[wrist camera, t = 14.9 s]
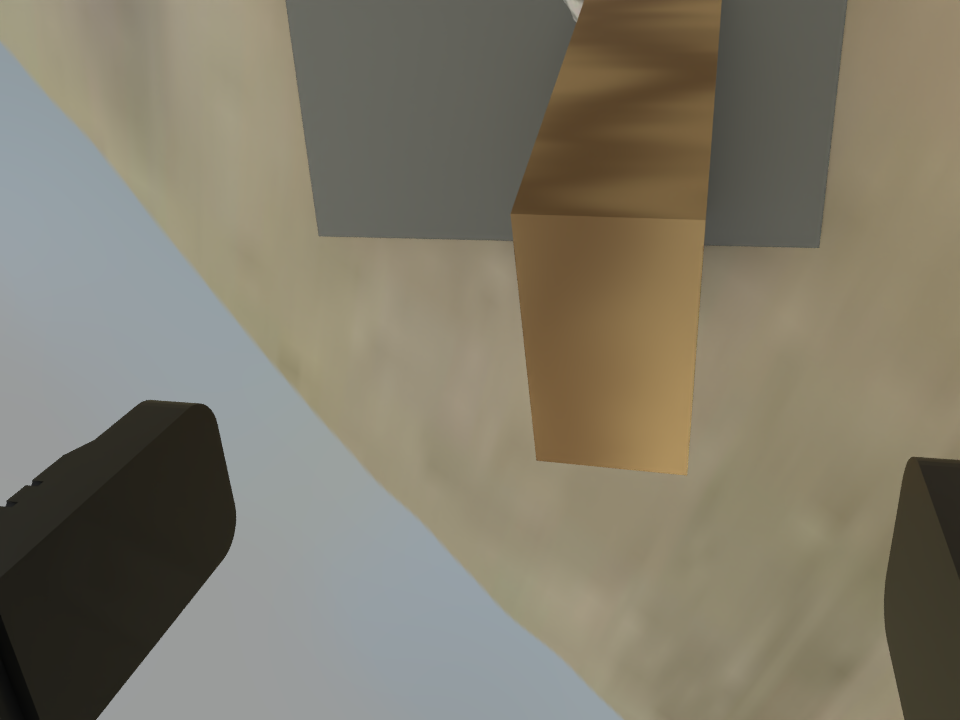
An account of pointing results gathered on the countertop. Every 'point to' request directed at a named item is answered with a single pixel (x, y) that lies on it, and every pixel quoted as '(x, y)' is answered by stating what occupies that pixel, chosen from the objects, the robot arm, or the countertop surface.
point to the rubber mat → (542, 114)
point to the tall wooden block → (619, 235)
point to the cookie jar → (574, 7)
